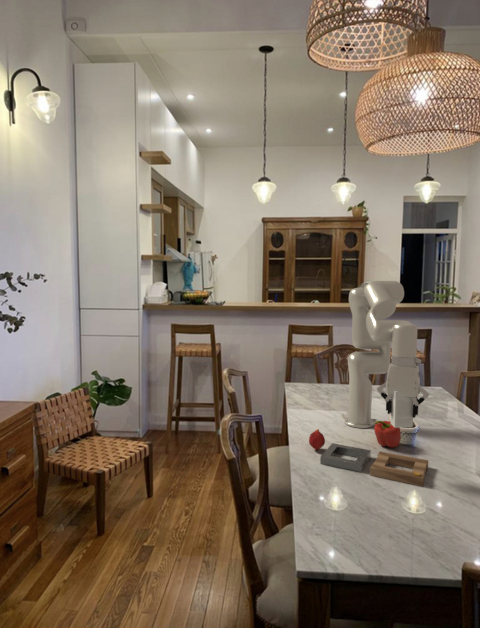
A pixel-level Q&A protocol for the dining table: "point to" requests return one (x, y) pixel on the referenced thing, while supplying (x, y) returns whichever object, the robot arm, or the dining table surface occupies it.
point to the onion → (316, 440)
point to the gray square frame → (344, 463)
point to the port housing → (397, 474)
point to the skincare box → (401, 410)
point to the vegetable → (387, 434)
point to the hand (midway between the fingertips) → (401, 414)
